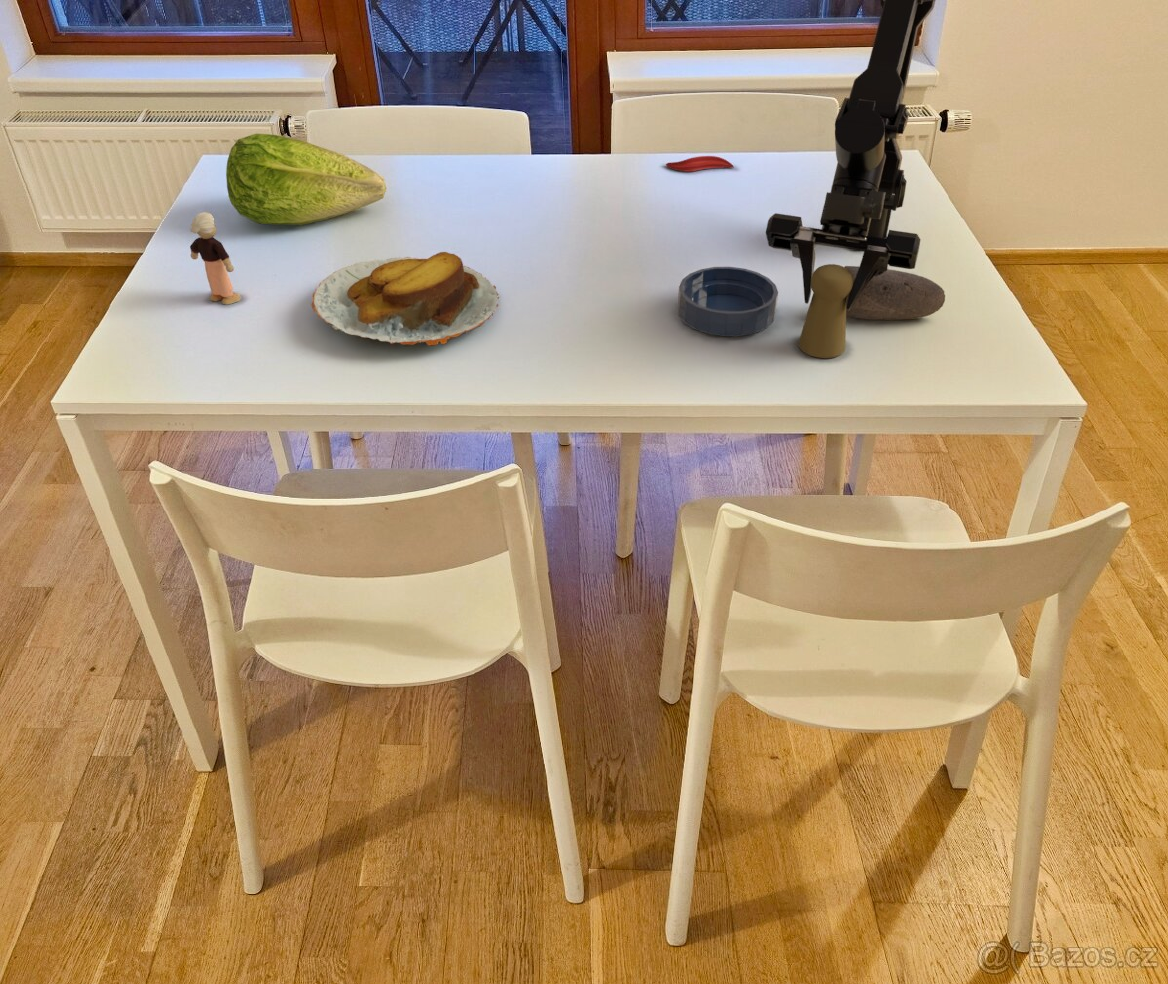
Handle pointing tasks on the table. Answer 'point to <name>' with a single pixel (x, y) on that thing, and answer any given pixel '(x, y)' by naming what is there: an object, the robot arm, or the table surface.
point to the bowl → (727, 301)
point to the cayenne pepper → (700, 163)
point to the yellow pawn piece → (827, 312)
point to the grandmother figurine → (213, 259)
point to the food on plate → (406, 299)
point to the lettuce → (296, 181)
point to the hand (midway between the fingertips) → (826, 306)
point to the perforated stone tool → (896, 296)
